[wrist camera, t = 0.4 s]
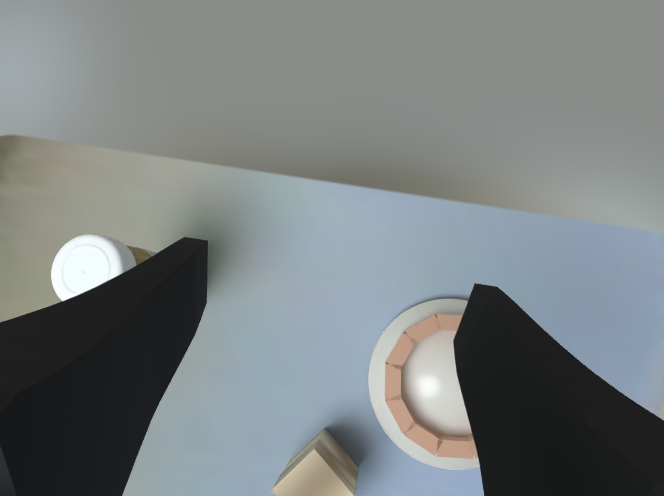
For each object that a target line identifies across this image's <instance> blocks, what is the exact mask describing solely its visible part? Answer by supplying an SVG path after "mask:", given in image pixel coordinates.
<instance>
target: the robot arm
mask: <svg viewBox="0 0 664 496" xmlns="http://www.w3.org/2000/svg"><path fill="white" fill-rule="evenodd" d="M207 253H208V241H206V240H200V239H193V238H187V237H184V238H182V239H180V240H179V241H177V242H175V243H173V244H172V245H170V246H168V247H167V248H165V249H163V250H162V251H160V252H159V253H157V254H155V255H154V256H152V257H150V258H148V259H147V260H145V261H143V262H142V263H140V264H138V265H136V266H135V267H133V268H131V269H129V270H128V271H126V272H124V273H122V274H120V275H118V276H116V277H114V278H112V279H110V280H108V281H106V282H104V283H102V284H101V285H99V286H97V287H94V288H92V289H90V290H88V291H86V292H83V293H81V294H79V295H77V296H74V297H72V298H69V299H67V300H64V301H62V302H59V303H57V304H54V305H52V306H49V307H46V308H43V309H40V310H37V311H34V312H31V313H28V314H25V315H22V316H19V317H16V318H13V319H10V320H7V321H4V322H0V496H122V495H123V492H124V489H125V487H126V484H127V481H128V479H129V476H130V473H131V471H132V468H133V465H134V463H135V460H136V457H137V455H138V452H139V450H140V447H141V445H142V442H143V440H144V437H145V435H146V432H147V430H148V427H149V425H150V422H151V420H152V417H153V415H154V413H155V411H156V409H157V407H158V404H159V402H160V400H161V399H162V397H163V395H164V393H165V391H166V389H167V387H168V385H169V383H170V382H171V380H172V378H173V376H174V374H175V372H176V370H177V368H178V366H179V364H180V363H181V361H182V359H183V357H184V355H185V353H186V351H187V349H188V347H189V345H190V343H191V341H192V339H193V337H194V336H195V333H196V331H197V328H198V325H199V323H200V320H201V317H202V314H203V311H204V309H205V306H206V303H207ZM453 345H454V356H455V364H456V372H457V377H458V381H459V385H460V389H461V393H462V397H463V401H464V405H465V408H466V412H467V416H468V420H469V424H470V427H471V431H472V435H473V439H474V442H475V446H476V450H477V455H478V459H479V464H480V469H481V476H482V483H483V489H484V496H664V421H663V420H662V419H660V418H659V417H657V416H656V415H654V414H653V413H651V412H649V411H648V410H646V409H645V408H643V407H642V406H640V405H638V404H637V403H635V402H634V401H632V400H631V399H629V398H628V397H626V396H625V395H624V394H622V393H621V392H619V391H618V390H617V389H615V388H614V387H612V386H611V385H610V384H608V383H607V382H606V381H604V380H603V379H602V378H600V377H599V376H597V375H596V374H595V373H594V372H592V371H591V370H590V369H588V368H587V367H586V366H585V365H583V364H582V363H581V362H580V361H579V360H578V359H576V358H575V357H574V356H573V355H572V354H570V353H569V352H568V351H567V350H566V349H564V348H563V347H562V346H561V345H560V344H559V343H558V342H557V341H555V340H554V339H553V338H552V337H551V336H550V335H549V334H548V333H547V332H546V331H544V330H543V329H542V328H541V327H540V326H539V325H538V324H537V323H536V322H535V321H534V320H533V319H532V318H531V317H530V316H529V315H528V314H527V313H525V312H524V311H523V310H522V309H521V308H520V307H519V306H518V305H517V304H516V303H515V302H514V301H513V300H512V299H511V298H510V297H509V296H507V295H506V294H505V293H504V292H503V291H502V290H500V289H499V288H498V287H494V286H488V285H482V284H476V283H475V284H474V287H473V290H472V292H471V295H470V298H469V300H468V303H467V305H466V308H465V311H464V313H463V316H462V319H461V321H460V324H459V327H458V329H457V332H456V335H455V337H454V340H453Z"/></svg>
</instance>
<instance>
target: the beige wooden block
mask: <svg viewBox="0 0 664 496" xmlns="http://www.w3.org/2000/svg"><path fill="white" fill-rule="evenodd" d="M357 474H358V466H357V465H356V464H355V463H354V462H353V460H352V459H351V458H350V457H349V456H348V455H347V453H346V452H345V451H344V450H343V449H342V448H341V447H340V445H339V444H338V443H337V442H336V441H335V440H334V439H333V437H332V436H331V435H330V434H329V433H328V432H327V430H326V429H325V428H324V429H323V430H322V431H321V432H320V433H319V434H318V435H317V436H316V437H314V438H313V439H312V440H311V441H310V442H309V443H308V444H307V445H306V446H305V447H304V448H303V449H302V450H301V451H300V452H299V453H298V454H297V455H296V456H295V457H294V458H293V459H292V460H291V461H290V462H289V463H288V464H287V466H286V467H285V469H284V471H283V472H282V474H281V475H280V477H279V479H278V480H277V482H276V483H275V485H274V487H273V488H272V491H273V493H274V494H275V495H276V496H355V489H356V481H357Z"/></svg>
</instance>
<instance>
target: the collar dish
mask: <svg viewBox="0 0 664 496" xmlns="http://www.w3.org/2000/svg"><path fill="white" fill-rule="evenodd" d="M467 303H468V301H466V300H461V299H437V300H431V301H427V302H424V303H421V304H418V305H416V306H414V307H412V308H409V309H408V310H406V311H405V312H403V313H402V314H400V315H399V316H398V317H397V318H395V319H394V320H393V321H392V322H391V323H390V324H389V325H388V327H387V328H386V329H385V330H384V332H383V333H382V335H381V336H380V338H379V340H378V342H377V344H376V346H375V348H374V351H373V354H372V357H371V362H370V366H369V377H368V381H369V393H370V399H371V403H372V406H373V409H374V412H375V414H376V416H377V419H378V421H379V423H380V424H381V426H382V428H383V429H384V431H385V432H386V434H387V435H388V436H389V437H390V439H391V440H392V441H393V442H394V443H395V444H396V445H397V446H398V447H399V448H400V449H402V450H403V451H404V452H406V453H407V454H408V455H410V456H411V457H413V458H415V459H417V460H418V461H420V462H423V463H425V464H427V465H430V466H434V467H437V468H441V469H449V470H467V469H474V468H478V467H480V464H479V459H478V455H477V450H476V446H475V442H474V439H473V435H472V431H471V427H470V424H469V420H468V416H467V412H466V408H465V405H464V401H463V397H462V393H461V389H460V385H459V381H458V377H457V372H456V364H455V356H454V345H453V340H454V337H455V335H456V332H457V329H458V327H459V324H460V321H461V319H462V316H463V313H464V311H465V308H466V305H467Z"/></svg>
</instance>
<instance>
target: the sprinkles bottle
mask: <svg viewBox="0 0 664 496" xmlns="http://www.w3.org/2000/svg"><path fill="white" fill-rule="evenodd" d="M155 254H157V253H155V252H152V251H148V250H145V249H141V248H137V247H131V246H127V245H125V244H124V243H122V242H121V241H119V240H116V239H113V238H110V237H106V236H102V235H97V234H86V235H81V236H78V237H76V238H74V239H72V240H70V241H69V242H67V243H66V244H65V245H64V246H63V247H62V248H61V249H60V251H59V252H58V254H57V255H56V257H55V260H54V262H53V265H52V272H51V277H52V284H53V287H54V290H55V292H56V294H57V295H58V297H59V298H60V299H61V300H62V301H64V300H67V299H69V298H72V297H74V296H77V295H79V294H81V293H83V292H86V291H88V290H90V289H92V288H94V287H97V286H99V285H101V284H102V283H104V282H106V281H108V280H110V279H112V278H114V277H116V276H118V275H120V274H122V273H124V272H126V271H128V270H129V269H131V268H133V267H135V266H136V265H138V264H140V263H142V262H143V261H145V260H147V259H148V258H150V257H152V256H154V255H155Z"/></svg>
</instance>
